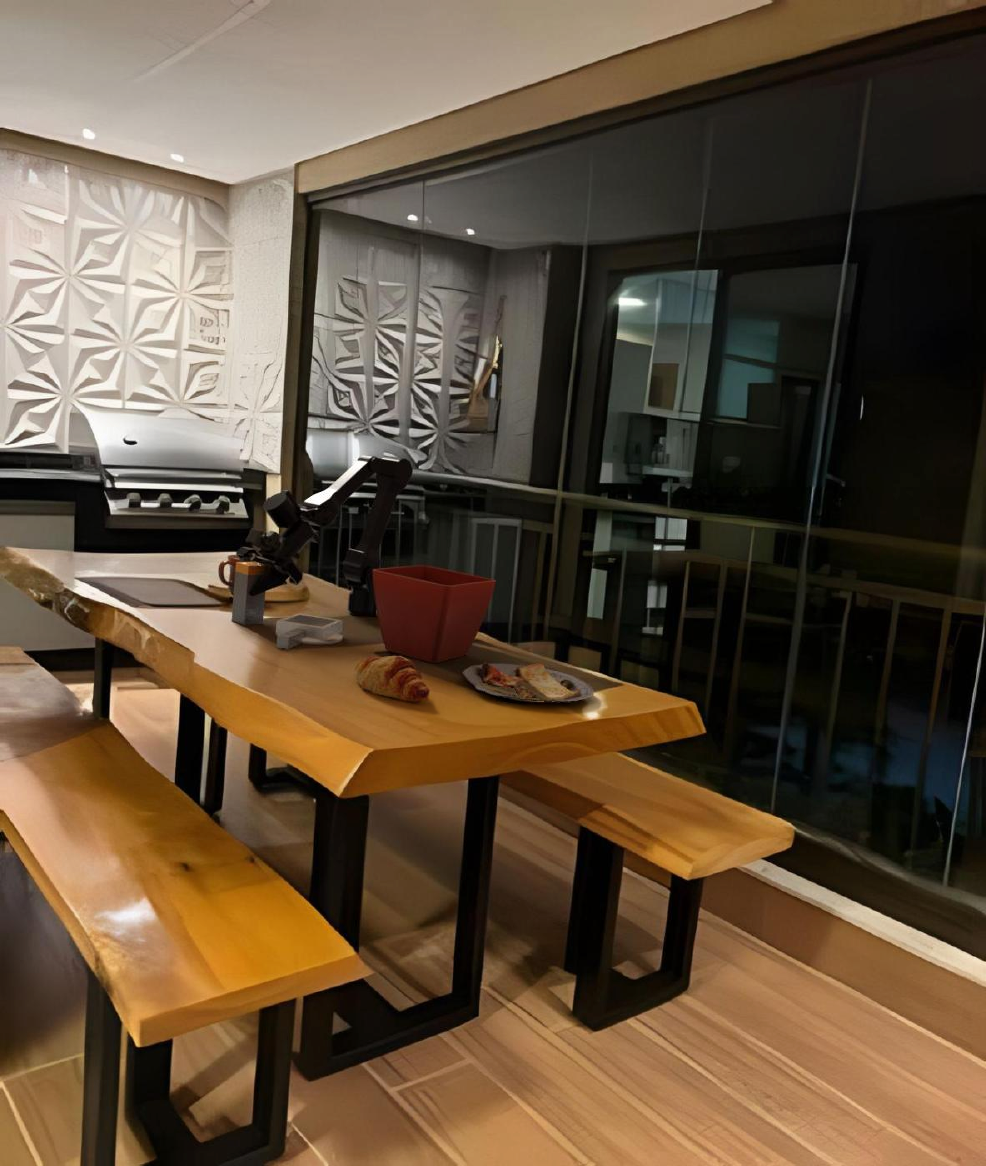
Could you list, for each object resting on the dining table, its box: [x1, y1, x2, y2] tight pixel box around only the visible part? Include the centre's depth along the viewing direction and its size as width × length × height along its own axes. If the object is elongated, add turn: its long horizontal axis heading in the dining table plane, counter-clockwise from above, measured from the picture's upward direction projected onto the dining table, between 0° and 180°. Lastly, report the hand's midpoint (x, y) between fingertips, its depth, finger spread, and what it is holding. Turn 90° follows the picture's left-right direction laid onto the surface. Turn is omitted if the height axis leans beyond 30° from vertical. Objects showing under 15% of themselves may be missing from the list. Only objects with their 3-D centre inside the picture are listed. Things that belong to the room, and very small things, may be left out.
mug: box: [217, 554, 242, 596], centre depth 238 cm, size 12×9×10 cm
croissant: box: [354, 655, 430, 703], centre depth 171 cm, size 21×10×8 cm, turn 42°
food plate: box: [462, 661, 595, 703], centre depth 182 cm, size 25×23×4 cm
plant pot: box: [373, 564, 497, 664], centre depth 202 cm, size 19×19×17 cm
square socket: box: [275, 612, 344, 650], centre depth 202 cm, size 20×14×4 cm
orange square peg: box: [231, 562, 266, 626], centre depth 212 cm, size 5×5×13 cm
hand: (244, 592), depth 211 cm, fingers closed on orange square peg, 5 cm apart
